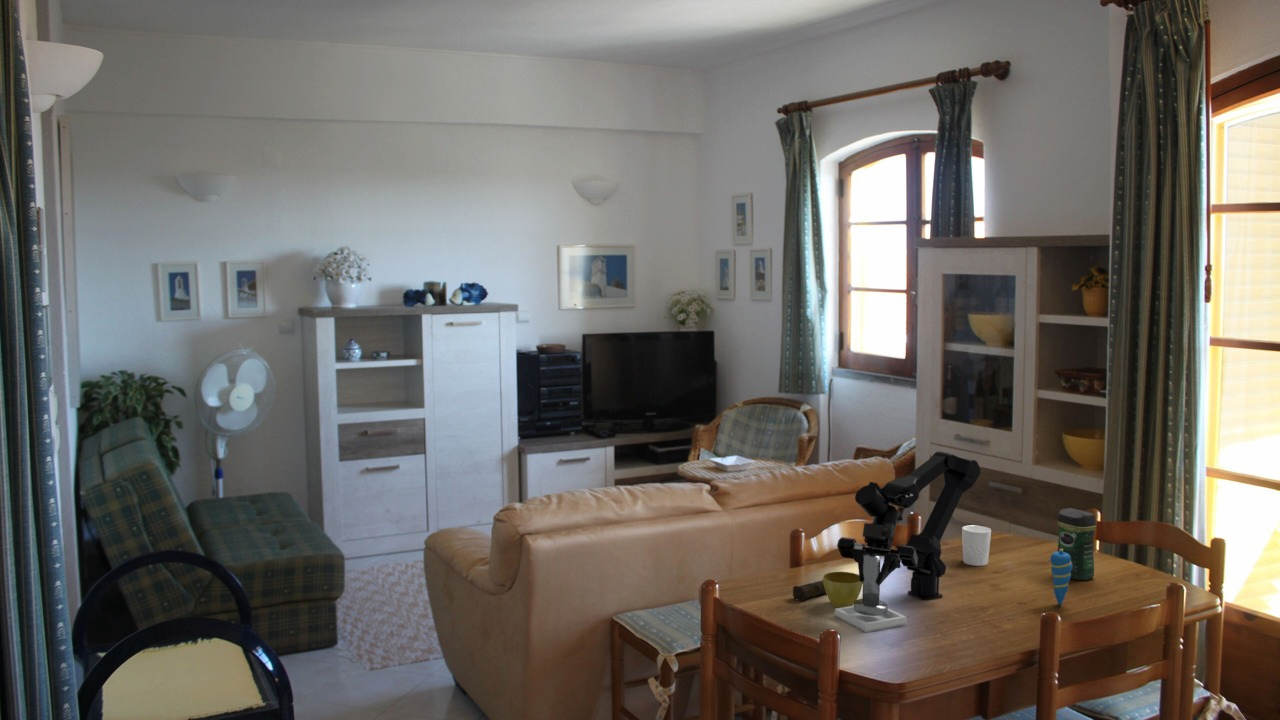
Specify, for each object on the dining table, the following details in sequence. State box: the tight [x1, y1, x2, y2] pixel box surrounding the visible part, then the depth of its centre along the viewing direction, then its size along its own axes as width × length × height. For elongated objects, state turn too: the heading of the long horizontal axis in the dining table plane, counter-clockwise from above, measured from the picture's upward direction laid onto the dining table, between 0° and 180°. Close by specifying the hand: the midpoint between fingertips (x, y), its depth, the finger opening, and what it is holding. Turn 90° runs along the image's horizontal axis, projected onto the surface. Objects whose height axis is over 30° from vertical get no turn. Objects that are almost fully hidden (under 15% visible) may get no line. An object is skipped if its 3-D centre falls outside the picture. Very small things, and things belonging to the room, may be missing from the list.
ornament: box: [1050, 548, 1073, 606], centre depth 261 cm, size 5×5×15 cm
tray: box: [834, 605, 907, 634], centre depth 249 cm, size 12×12×2 cm
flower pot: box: [822, 571, 863, 608], centre depth 260 cm, size 10×10×7 cm
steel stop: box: [853, 553, 889, 616], centre depth 248 cm, size 8×8×14 cm
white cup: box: [961, 524, 992, 567], centre depth 297 cm, size 8×8×10 cm
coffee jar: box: [1056, 507, 1097, 581], centre depth 285 cm, size 10×8×19 cm
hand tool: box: [792, 579, 826, 602], centre depth 269 cm, size 19×4×5 cm, turn 124°
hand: (869, 582), depth 247 cm, fingers closed on steel stop, 4 cm apart
